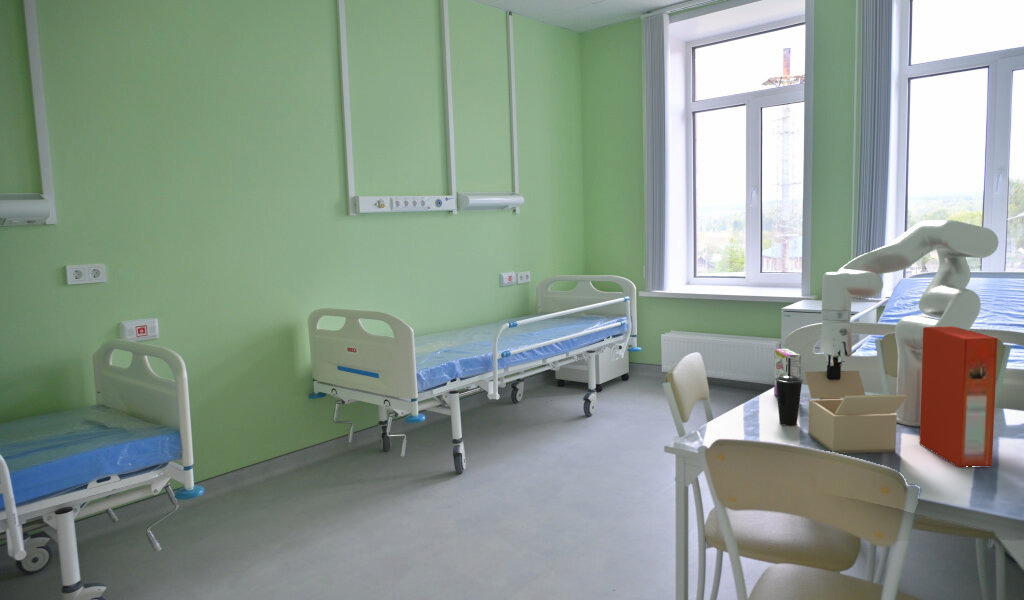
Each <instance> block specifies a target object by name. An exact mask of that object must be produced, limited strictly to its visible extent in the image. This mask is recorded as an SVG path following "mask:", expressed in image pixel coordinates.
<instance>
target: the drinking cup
mask: <svg viewBox="0 0 1024 600" xmlns="http://www.w3.org/2000/svg"><path fill="white" fill-rule="evenodd" d="M790 368H791V358H788V375H782V376H779V377H776V378H775V380H776V384H777V396H778V397H777V396H776V397H777V408H778V409H777V410H778V417H779V418H778V419H779V420H778V421H779V424H780V425H783V426H786V427H787V426H788V427H792V426H794V427H795V426H797V425H798V418H799V417H798V416H799V409H800V408H799V407H800V403H801V391H802V386H803V385H802V384H803V383H804V380H803V378H801V377H800V378H799V377H797V376H794V375H790ZM799 402H800V403H799Z"/></svg>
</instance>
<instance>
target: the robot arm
mask: <svg viewBox="0 0 1024 600" xmlns="http://www.w3.org/2000/svg"><path fill="white" fill-rule="evenodd" d="M998 247H999V237H998V236H997V234H996V233H995V231H994V230H993V229H991V228H987V227H985V226H980V225H976V224H971V223H967V222H964V221H963V222H962V221H959V220H953V219H951V220H950V219H927V220H923V221H922V220H921V221H920V222H918V223H915V225H913V226H912V227H910V228H909V229H907V230H906V231H905V232H903V233H902V234H901V235H899V236H898V237H896V238H895V239H894V240H892V241H890V243H888V244H886V245H884V246H881V247H878V248H876V249H874V250H872V251H869V252H866V253H864V254H861V255H859V256H857V257H855V258H854V259H852V260H850V261H848V262H847V263H846V264H844V265H843V266H842V267H840V268H839V269H838V270H837V271H829V272H828V271H827V272H825V273H824V274H823V276H822V288H821V290H822V291H821V315H820V317H821V318H820V320H821V321H822V324H821V331H820V350H821V351H822V352H823V355H824V356H825V357H826V359H825V360H826V371H827V378H828V379H829V380H840V377H841V371H842V365H843V363H845V362H846V357H847V358H848V357H849V358H850V357H852V354H853V351H852V350H853V345H852V344H853V341H852V338H853V335H852V328H851V327H852V325H851V320H852V319H851V318H852V298H853V297H854V298H855V297H856V298H864V299H866V298H867V299H869V298H873V297H876V296H878V295H879V294H880V293H881V292H882V291H883V290H882V289H884V282H883V281H884V280H883V278H882V277H881V276H880V275H883V274H888V273H889V274H890V273H895V272H899V271H903V270H906V269H909V268H910V267H911V266H912V265H914V264H915V263H917V262H918V261H920V260H921V259H922V258H923V257H925V256H926V255H928V254H929V253H931V252H932V251H935V250H936V252H937V256H938V261H939V262H938V264H939V266H938V269H937V272H936V273H935V275H934V276H933V278H932V280H931V281H930V283H928V286H926V288H925V290H924V292H923V294H922V295H921V297H920V299H919V302H918V308H919V311H920V312H921V313H922V314H924V315H925V316H922V315H914V314H913V315H908V316H907V315H906V316H903V317H902V318H901V319H899V321H898V322H897V323H896V324H895V327H894V328H895V329H894V338H895V341H896V349H897V350H896V351H897V373H896V395H906V396H907V397H906V398H905V400H904V401H903V402H902V404H901V405H900V406H899V408H898V409H897V411H896V412H895V413H894V414H896V415H897V423H896V424H900V425H905V426H912V427H919V426H920V415H921V384H922V352H923V328H925V327H948V326H954V327H958V328H961V329H965V330H969V331H970V329H971V328H972V326H973V324H974V323H975V321H976V320H977V318H978V316H979V314H980V312H981V299H980V296H979V295H978V293H977V292H976V291H975V290H972V289H969V288H967V286H968V285H969V283H970V281H971V278H972V277H971V276H972V275H971V274H972V273H971V268H970V265H969V263H968V260H967V258H971V259H972V258H973V259H974V258H975V259H984V258H988V257H990V256H992V255H993V254H994V253H995V252H996V251H997V249H998ZM927 316H928V317H927Z"/></svg>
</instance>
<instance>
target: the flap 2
mask: <svg viewBox="0 0 1024 600" xmlns="http://www.w3.org/2000/svg"><path fill="white" fill-rule="evenodd" d="M906 397H907V396H906V395H897V394H871V395H868V394H867V395H866V394H865V395H859V396H845V397H844V398H842V399H843V400H842V402H841V403H840V405H839V407H838V408H837V410H836V412H835V414H886V413H895V412H896V411H897V409H898V408H899V406H900V405H901V404H902V402H903V401H904V400H905V398H906Z"/></svg>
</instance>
